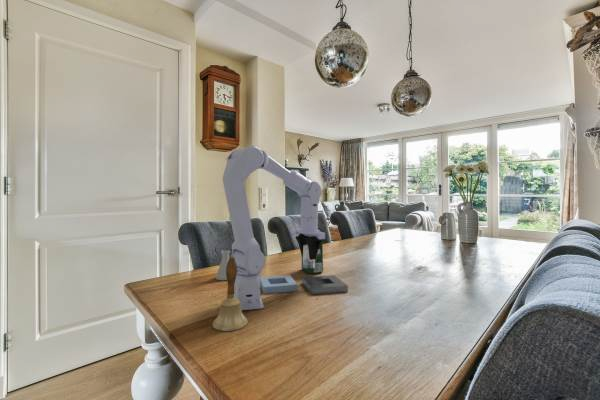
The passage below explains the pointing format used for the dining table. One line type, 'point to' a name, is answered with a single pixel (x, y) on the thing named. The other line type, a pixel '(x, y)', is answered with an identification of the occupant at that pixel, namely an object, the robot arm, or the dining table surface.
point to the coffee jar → (316, 260)
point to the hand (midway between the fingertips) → (308, 257)
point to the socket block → (324, 284)
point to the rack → (278, 284)
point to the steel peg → (307, 258)
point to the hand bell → (230, 304)
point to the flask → (223, 266)
